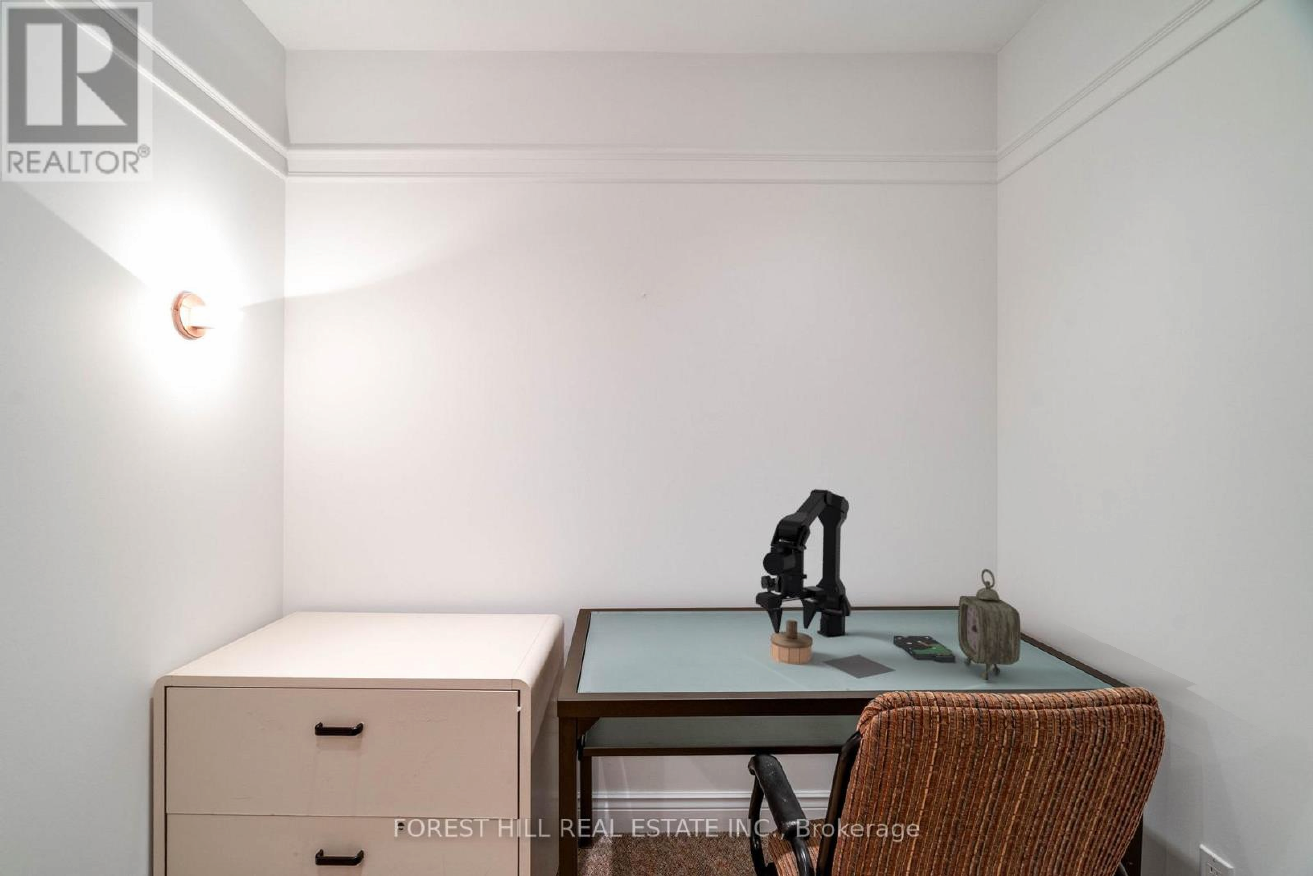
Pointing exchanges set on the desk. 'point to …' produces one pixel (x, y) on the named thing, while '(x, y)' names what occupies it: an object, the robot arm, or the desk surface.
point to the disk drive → (924, 648)
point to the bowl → (791, 654)
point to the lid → (791, 637)
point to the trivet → (858, 666)
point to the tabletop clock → (988, 629)
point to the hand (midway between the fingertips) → (791, 631)
